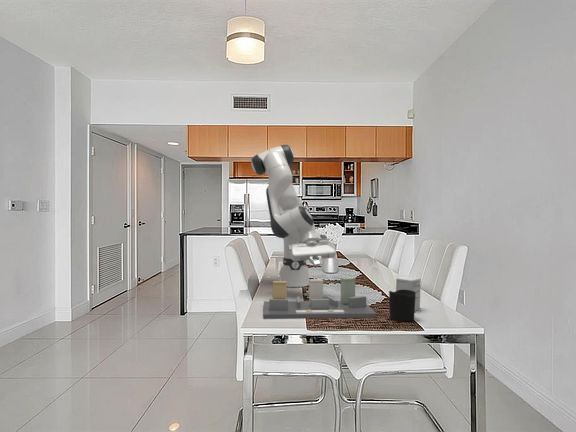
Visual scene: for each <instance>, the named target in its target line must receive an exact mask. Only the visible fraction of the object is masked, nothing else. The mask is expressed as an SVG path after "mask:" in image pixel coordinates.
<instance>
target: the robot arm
mask: <svg viewBox="0 0 576 432" xmlns="http://www.w3.org/2000/svg"><path fill="white" fill-rule="evenodd" d="M294 160H295V154H294V151H293V149H292V147H291V146H290V145H289V144H281V145H279V146H275V147H271V148H269V149H267V150H265V151H263V152H261V153H259V154H255V155H254V156H252V157H251V161H250V162H251V168H252V170H253V171H254V172H255V173H256V175H258V176H262V175H265V174H267V178H268V184H267V187H266V189H265V194H266V201H267V206H268V214H269V219H270V228H271V232H272V234H273V235H274V236H275V237H276V238H280V239H282V240H283V258H282V264H283V265H282V266H281V268H280V270H279V271H278V275H279V277H278V278H279V280H278V281H287V287H289V288H302V287H307V286H309V279H310V269H309V267H308V266H307V261H309V263H311V264H312V266H313V267H320V266H321V260H323V259H335V257H336V255H337V249H336V247H335V245H334V243H333V242H332V241H331V240H330V236H329V235H326V234H321V233H318V232H317V231H316V226H315V223H314V219H313V216H312V214H311V211H310V210H309V209H308V208H306V207H304V205H303V203H302V202H301V200H300V198H299V197H298V195H297V192H296V190H295V187H294V185H293V173H292V171H291V165H292V164H293V163H294ZM279 207H280V208H281V210H282V212H281V213H280V209H279Z"/></svg>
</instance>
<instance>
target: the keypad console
mask: <svg viewBox="0 0 576 432" xmlns="http://www.w3.org/2000/svg"><path fill="white" fill-rule="evenodd" d="M377 315H378V314H377V312H376V311H375V310H374V309H373V308H372V307H370V305H369V304H367V296H365V295H358V296H355V297H349V304H344V303H341V300H337V299H335V298H334V297H332V296H330V295H325V298H323V299H311V305H309V300H301V297H300V296H296V300H295V301H294V300H292V301H291V300H289V299H288V298H287V299H273V298H269V300H268V301H263V319H267V320H268V319H271V320H272V319H341V318H342V319H343V318H345V319H347V318H349V319H350V318H351V319H352V318H353V319H355V318H356V319H357V318H361V319H362V318H363V319H364V318H366V319H367V318H377Z"/></svg>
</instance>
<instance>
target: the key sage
mask: <svg viewBox="0 0 576 432" xmlns="http://www.w3.org/2000/svg"><path fill="white" fill-rule="evenodd" d="M356 280H357V279H356V278H354V277H352V276H351V277H350V276H349V277H340V301H341V303H344V304H349V297H356Z"/></svg>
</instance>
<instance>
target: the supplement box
mask: <svg viewBox="0 0 576 432" xmlns="http://www.w3.org/2000/svg"><path fill="white" fill-rule="evenodd" d="M421 279H422V278H419V277H413V276H405V275H404V276H400V277H397V278H396V280H395V282H396V283H395V292H396V291H398V290H411V291H414V292H415V293H416V294H415V312H416V311H419V310H420V308H421V283H422V281H421Z"/></svg>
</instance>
